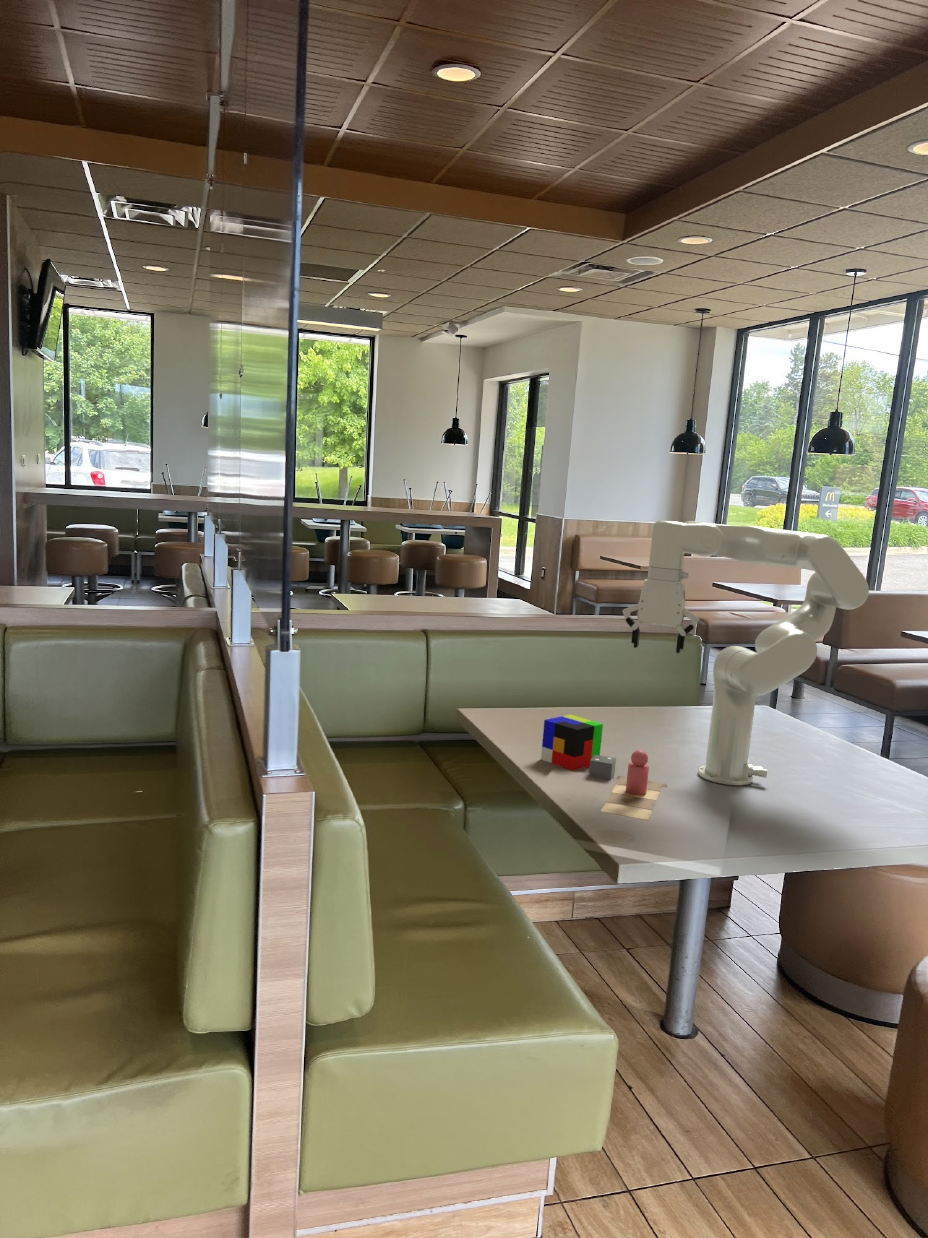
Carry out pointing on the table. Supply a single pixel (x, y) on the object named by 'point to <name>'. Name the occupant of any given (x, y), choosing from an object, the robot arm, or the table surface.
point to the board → (632, 800)
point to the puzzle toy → (571, 741)
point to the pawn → (637, 774)
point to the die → (602, 767)
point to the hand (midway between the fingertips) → (656, 649)
